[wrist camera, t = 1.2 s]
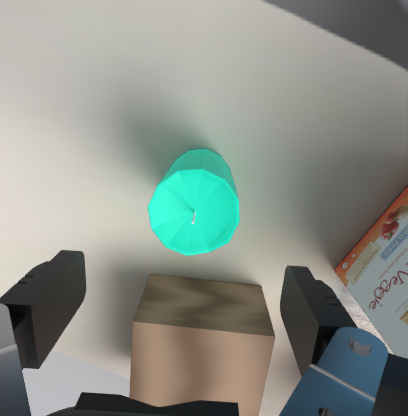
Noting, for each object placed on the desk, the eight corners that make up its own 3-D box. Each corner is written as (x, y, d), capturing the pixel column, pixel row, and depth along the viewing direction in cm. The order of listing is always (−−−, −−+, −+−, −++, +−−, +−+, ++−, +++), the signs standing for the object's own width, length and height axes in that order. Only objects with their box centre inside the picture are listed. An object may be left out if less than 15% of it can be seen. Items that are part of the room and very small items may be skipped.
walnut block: (261, 284, 33) (275, 336, 26) (244, 371, 37) (253, 439, 30) (150, 273, 33) (132, 321, 26) (145, 361, 37) (128, 426, 29)
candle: (165, 203, 31) (137, 259, 19) (174, 142, 29) (149, 165, 17) (224, 213, 31) (232, 274, 19) (237, 154, 29) (253, 183, 18)
